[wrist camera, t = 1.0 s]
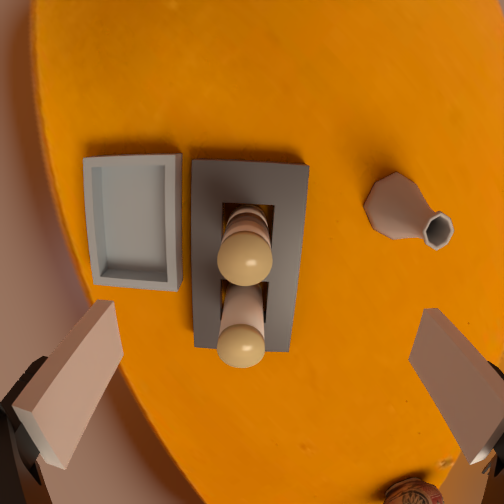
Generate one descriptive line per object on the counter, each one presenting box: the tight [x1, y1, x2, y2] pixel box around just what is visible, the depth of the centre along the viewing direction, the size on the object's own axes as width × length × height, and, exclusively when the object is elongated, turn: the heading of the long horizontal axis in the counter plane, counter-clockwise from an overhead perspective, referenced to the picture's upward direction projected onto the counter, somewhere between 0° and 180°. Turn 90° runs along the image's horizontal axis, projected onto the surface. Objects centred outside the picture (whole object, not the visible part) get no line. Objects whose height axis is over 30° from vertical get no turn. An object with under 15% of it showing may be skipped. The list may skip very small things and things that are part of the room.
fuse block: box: [191, 158, 309, 352], centre depth 34 cm, size 21×11×2 cm, turn 177°
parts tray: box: [83, 153, 183, 292], centre depth 32 cm, size 14×10×3 cm
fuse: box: [217, 282, 265, 368], centre depth 31 cm, size 4×4×11 cm
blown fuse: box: [217, 204, 273, 286], centre depth 29 cm, size 4×4×11 cm
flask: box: [363, 172, 454, 250], centre depth 28 cm, size 7×7×10 cm
